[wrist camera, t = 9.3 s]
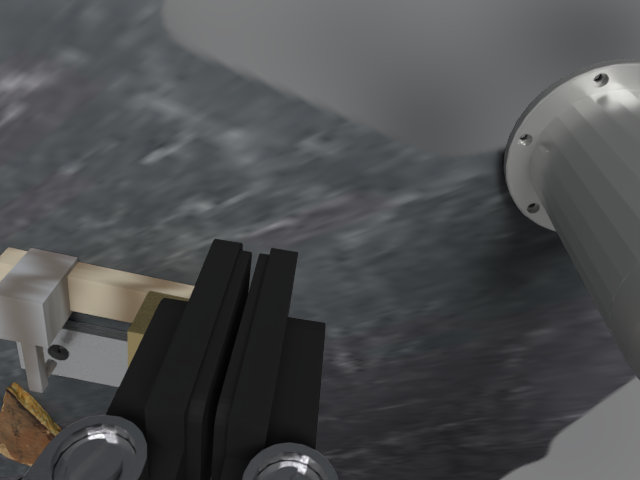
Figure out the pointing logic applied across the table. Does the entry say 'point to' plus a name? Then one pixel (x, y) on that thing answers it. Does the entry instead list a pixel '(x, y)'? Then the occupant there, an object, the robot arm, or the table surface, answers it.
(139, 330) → the sliding leg
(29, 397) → the shard
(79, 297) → the divider rail
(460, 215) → the table surface
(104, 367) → the bolt plate
